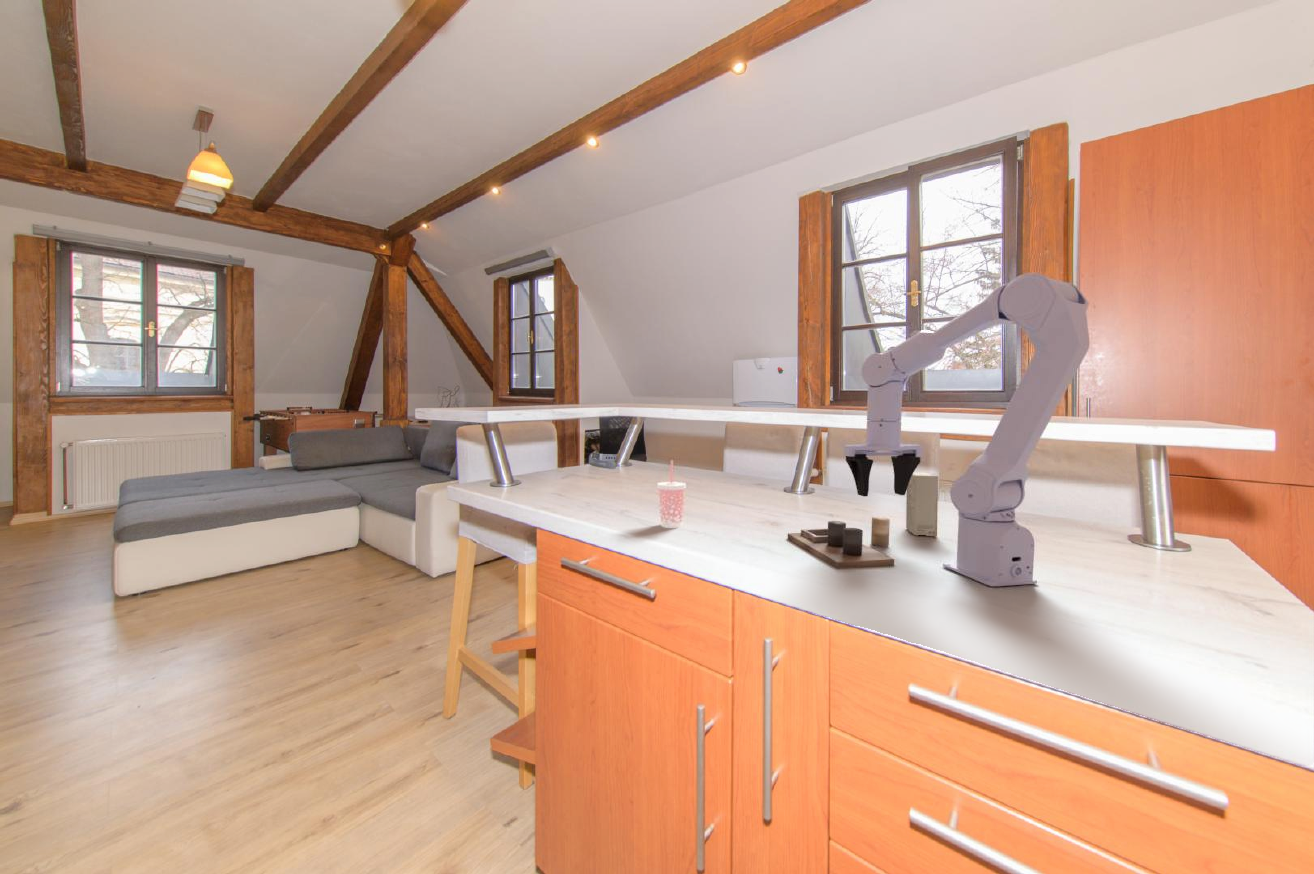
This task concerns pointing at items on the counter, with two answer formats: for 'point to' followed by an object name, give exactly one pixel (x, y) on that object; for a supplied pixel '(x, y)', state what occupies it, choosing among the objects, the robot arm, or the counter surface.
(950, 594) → the counter surface
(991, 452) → the robot arm
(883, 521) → the maple pin
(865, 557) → the pin board
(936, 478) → the skincare box
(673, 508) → the beverage cup
